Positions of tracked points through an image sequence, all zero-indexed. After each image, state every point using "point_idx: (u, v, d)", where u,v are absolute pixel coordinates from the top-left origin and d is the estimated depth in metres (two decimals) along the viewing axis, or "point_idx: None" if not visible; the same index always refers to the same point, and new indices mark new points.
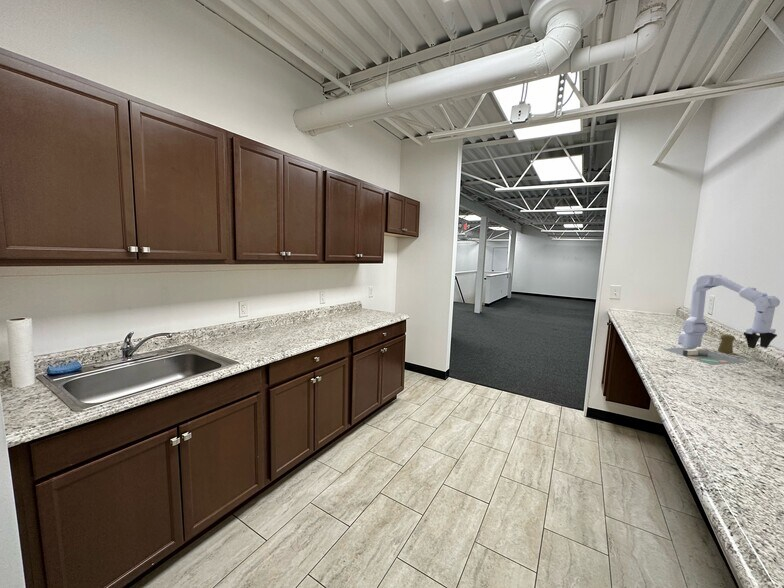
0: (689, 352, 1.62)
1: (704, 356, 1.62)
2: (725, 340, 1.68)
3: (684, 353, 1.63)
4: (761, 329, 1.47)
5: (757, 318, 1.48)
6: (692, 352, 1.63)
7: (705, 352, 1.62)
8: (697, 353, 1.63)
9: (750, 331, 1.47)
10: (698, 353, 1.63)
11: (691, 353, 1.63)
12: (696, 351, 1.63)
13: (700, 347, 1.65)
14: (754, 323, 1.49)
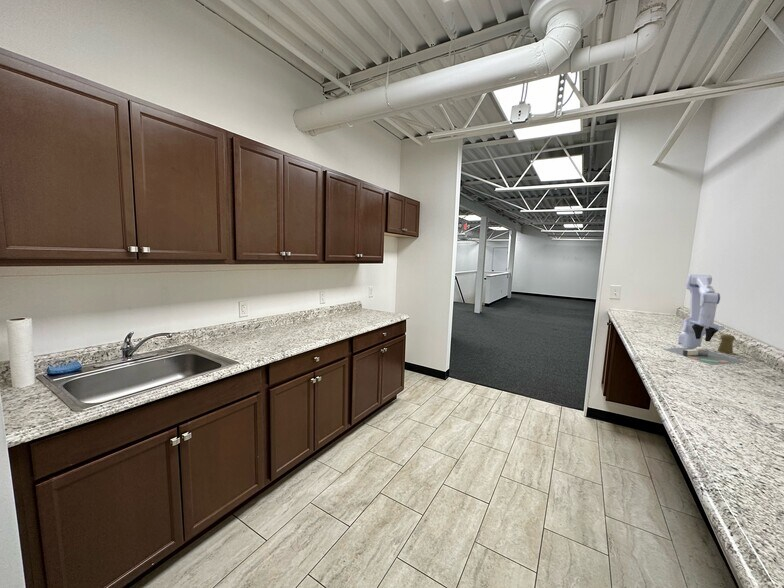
0: (689, 352, 1.62)
1: (704, 356, 1.62)
2: (725, 340, 1.68)
3: (684, 353, 1.63)
4: (698, 321, 1.64)
5: (699, 312, 1.63)
6: (692, 352, 1.63)
7: (705, 352, 1.62)
8: (697, 353, 1.63)
9: None
10: (698, 353, 1.63)
11: (691, 353, 1.63)
12: (696, 351, 1.63)
13: (700, 347, 1.65)
14: None
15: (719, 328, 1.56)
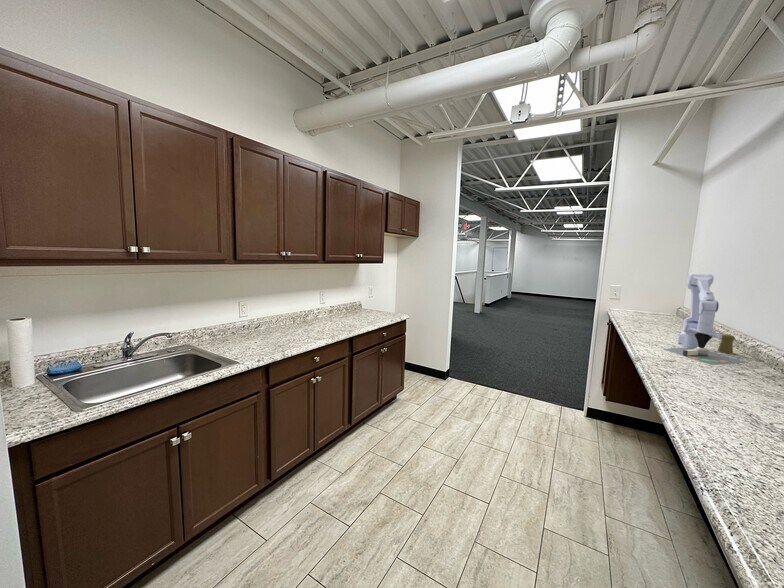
0: (689, 352, 1.62)
1: (704, 356, 1.62)
2: (725, 340, 1.68)
3: (684, 353, 1.63)
4: (696, 329, 1.65)
5: (698, 320, 1.64)
6: (692, 352, 1.63)
7: (705, 352, 1.62)
8: (697, 353, 1.63)
9: None
10: (698, 353, 1.63)
11: (691, 353, 1.63)
12: (696, 351, 1.63)
13: None
14: None
15: (718, 336, 1.56)
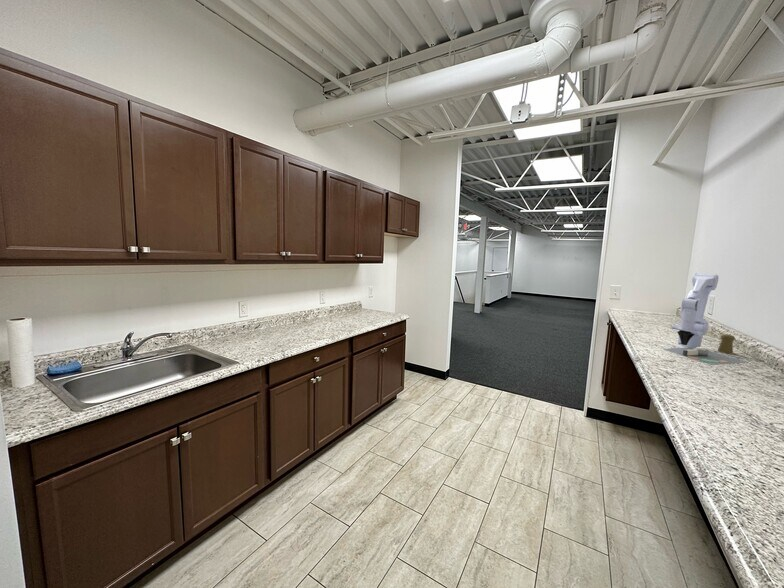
0: (689, 352, 1.62)
1: (704, 356, 1.62)
2: (725, 340, 1.68)
3: (684, 353, 1.63)
4: (679, 326, 1.69)
5: None
6: (692, 352, 1.63)
7: (705, 352, 1.62)
8: (697, 353, 1.63)
9: None
10: (698, 353, 1.63)
11: (691, 353, 1.63)
12: (696, 351, 1.63)
13: (700, 347, 1.65)
14: None
15: (699, 333, 1.60)
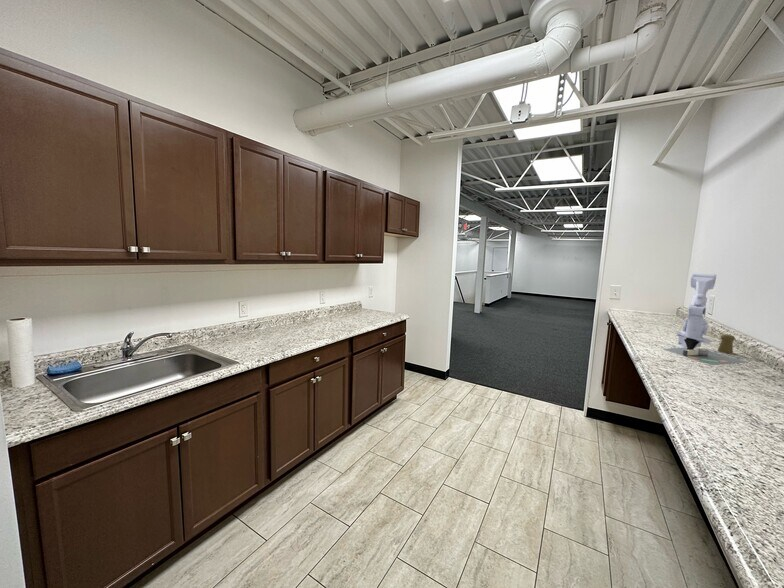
0: (689, 352, 1.62)
1: (704, 356, 1.62)
2: (725, 340, 1.68)
3: (684, 353, 1.63)
4: (685, 334, 1.66)
5: None
6: (692, 352, 1.63)
7: (705, 352, 1.62)
8: (697, 353, 1.63)
9: None
10: (698, 353, 1.63)
11: (691, 353, 1.63)
12: (696, 351, 1.63)
13: (700, 347, 1.65)
14: None
15: (705, 341, 1.57)
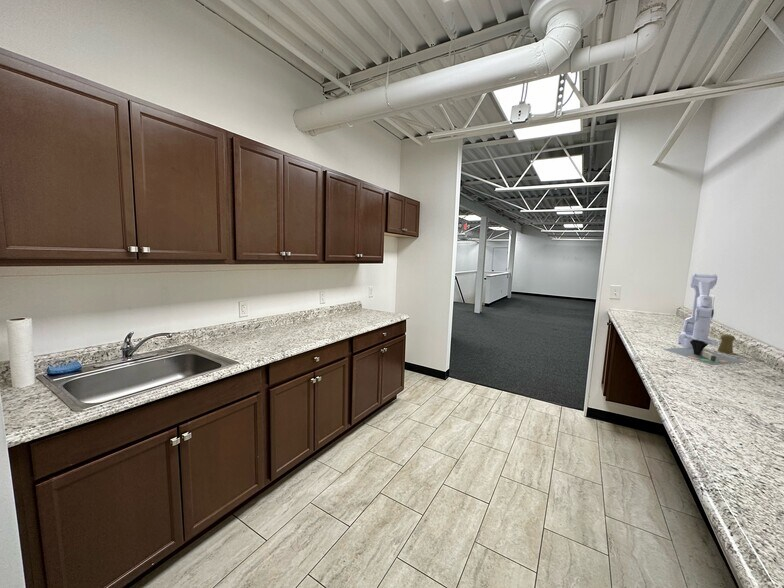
0: None
1: None
2: (725, 340, 1.68)
3: (714, 359, 1.55)
4: (692, 335, 1.63)
5: (694, 326, 1.62)
6: None
7: None
8: None
9: None
10: None
11: None
12: None
13: None
14: None
15: (713, 343, 1.54)
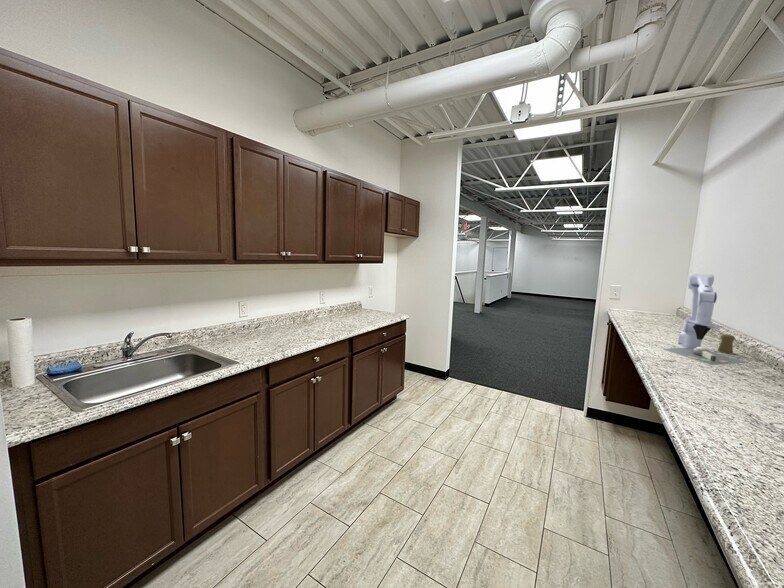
0: None
1: None
2: (725, 340, 1.68)
3: (714, 359, 1.55)
4: (695, 320, 1.64)
5: (696, 311, 1.63)
6: None
7: None
8: None
9: None
10: None
11: None
12: None
13: (699, 347, 1.65)
14: None
15: (716, 327, 1.55)
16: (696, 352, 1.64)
